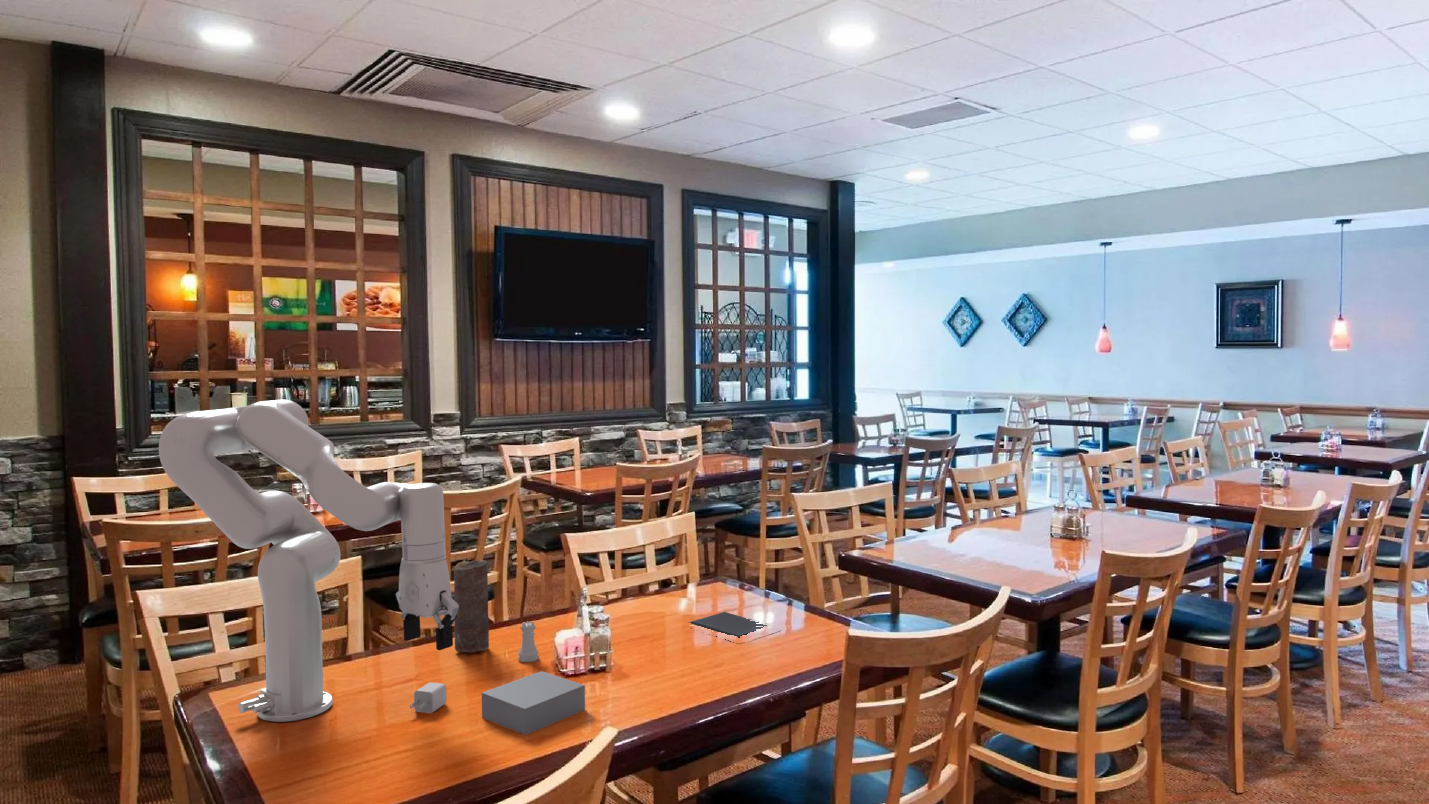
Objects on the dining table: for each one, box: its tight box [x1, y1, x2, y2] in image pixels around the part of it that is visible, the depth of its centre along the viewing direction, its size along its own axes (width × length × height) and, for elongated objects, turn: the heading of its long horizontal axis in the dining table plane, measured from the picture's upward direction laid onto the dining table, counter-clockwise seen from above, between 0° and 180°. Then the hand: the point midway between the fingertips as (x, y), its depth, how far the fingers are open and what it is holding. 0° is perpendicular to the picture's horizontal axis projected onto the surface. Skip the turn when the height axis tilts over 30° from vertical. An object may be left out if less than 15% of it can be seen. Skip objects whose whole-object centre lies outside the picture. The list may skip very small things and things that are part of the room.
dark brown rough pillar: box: [453, 559, 490, 654], centre depth 196 cm, size 8×7×20 cm
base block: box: [481, 670, 586, 736], centre depth 163 cm, size 14×12×5 cm
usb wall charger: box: [409, 682, 447, 714], centre depth 164 cm, size 4×7×4 cm, turn 164°
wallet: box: [688, 611, 767, 638], centre depth 214 cm, size 20×2×15 cm
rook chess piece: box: [517, 620, 540, 664], centre depth 191 cm, size 4×4×8 cm
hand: (428, 643), depth 163 cm, fingers open, 9 cm apart
